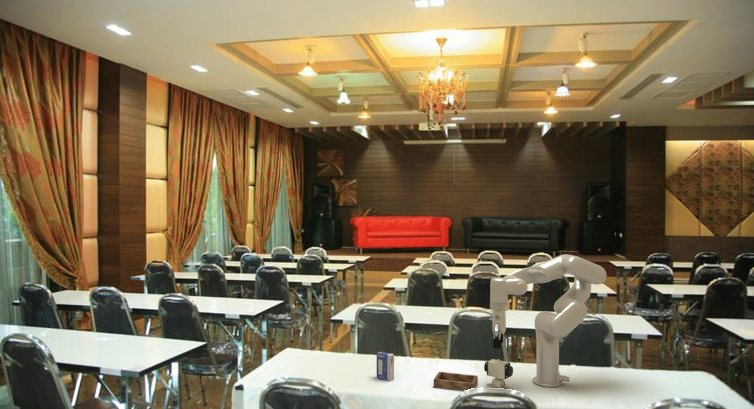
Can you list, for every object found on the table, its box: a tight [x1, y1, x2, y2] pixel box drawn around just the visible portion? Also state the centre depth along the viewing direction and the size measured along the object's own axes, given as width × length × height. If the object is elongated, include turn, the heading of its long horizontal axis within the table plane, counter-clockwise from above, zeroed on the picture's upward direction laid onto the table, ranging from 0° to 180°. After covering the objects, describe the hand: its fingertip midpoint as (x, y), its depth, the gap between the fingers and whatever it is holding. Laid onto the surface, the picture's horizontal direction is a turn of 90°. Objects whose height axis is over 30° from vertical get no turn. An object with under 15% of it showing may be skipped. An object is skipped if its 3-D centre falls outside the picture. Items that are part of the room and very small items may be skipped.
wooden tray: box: [433, 371, 479, 392], centre depth 234 cm, size 17×11×4 cm, turn 71°
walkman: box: [376, 351, 395, 382], centre depth 242 cm, size 8×3×12 cm, turn 57°
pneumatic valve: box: [483, 358, 514, 389], centre depth 233 cm, size 6×12×12 cm, turn 53°
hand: (498, 345), depth 233 cm, fingers open, 9 cm apart
